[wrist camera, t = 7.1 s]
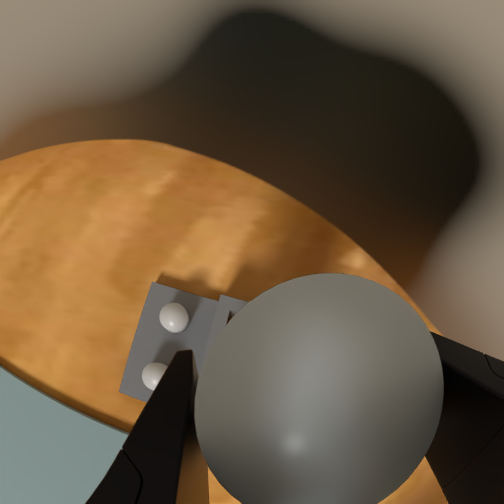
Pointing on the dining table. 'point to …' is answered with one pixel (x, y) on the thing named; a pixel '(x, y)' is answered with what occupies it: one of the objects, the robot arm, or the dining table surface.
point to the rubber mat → (50, 447)
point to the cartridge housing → (172, 334)
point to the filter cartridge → (319, 394)
